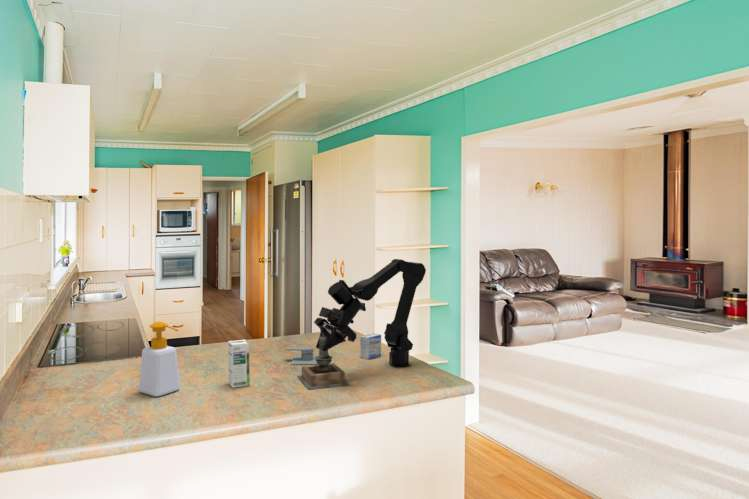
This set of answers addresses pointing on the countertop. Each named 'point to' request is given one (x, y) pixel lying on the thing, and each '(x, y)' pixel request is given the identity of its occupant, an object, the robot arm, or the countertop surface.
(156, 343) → the soap bottle
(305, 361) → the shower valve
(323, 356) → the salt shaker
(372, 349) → the medicine box
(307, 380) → the holder
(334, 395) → the countertop surface
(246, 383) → the syrup box
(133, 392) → the countertop surface
